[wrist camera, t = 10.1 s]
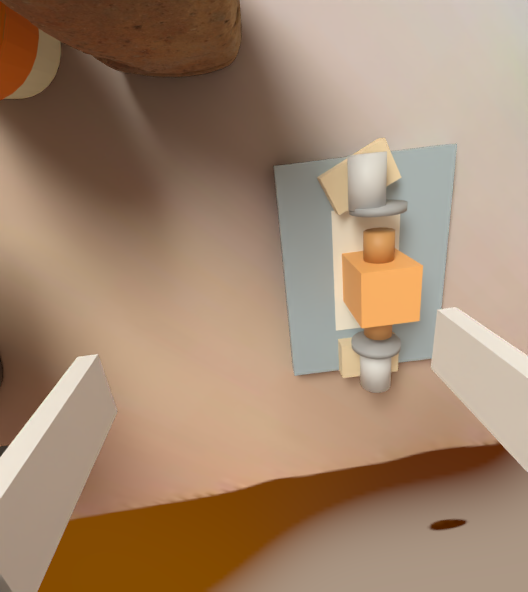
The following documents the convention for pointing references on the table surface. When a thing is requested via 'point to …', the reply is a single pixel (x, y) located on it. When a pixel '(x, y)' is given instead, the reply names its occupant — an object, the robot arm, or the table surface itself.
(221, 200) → the table surface
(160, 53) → the block
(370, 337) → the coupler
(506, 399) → the robot arm
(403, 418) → the table surface
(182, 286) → the table surface
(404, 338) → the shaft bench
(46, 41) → the reusable coffee cup
